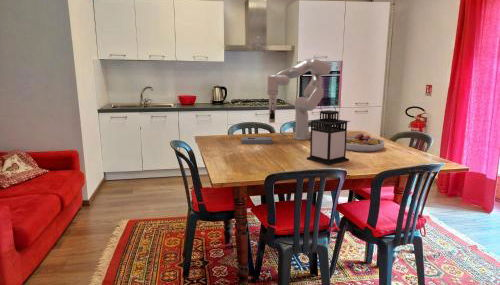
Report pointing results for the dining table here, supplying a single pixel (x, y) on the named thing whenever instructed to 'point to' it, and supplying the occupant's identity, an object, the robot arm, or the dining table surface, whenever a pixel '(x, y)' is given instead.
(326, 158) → the lantern
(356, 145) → the bowl
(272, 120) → the peg
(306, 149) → the dining table surface
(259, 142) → the board
